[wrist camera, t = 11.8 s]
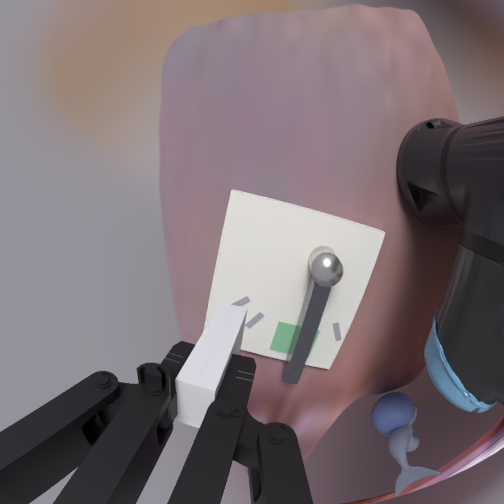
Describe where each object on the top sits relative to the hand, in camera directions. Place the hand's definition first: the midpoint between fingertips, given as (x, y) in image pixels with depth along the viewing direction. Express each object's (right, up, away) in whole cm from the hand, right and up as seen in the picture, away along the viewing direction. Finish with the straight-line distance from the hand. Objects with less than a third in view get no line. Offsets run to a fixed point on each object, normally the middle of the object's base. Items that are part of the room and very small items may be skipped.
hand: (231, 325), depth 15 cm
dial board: (+6, -1, +21) cm, 22 cm away
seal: (+28, -25, +25) cm, 45 cm away
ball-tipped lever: (+9, -4, +20) cm, 22 cm away
